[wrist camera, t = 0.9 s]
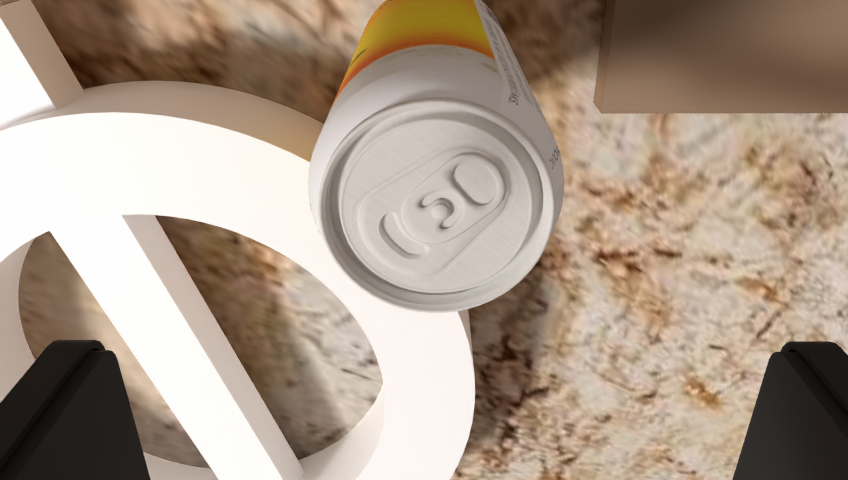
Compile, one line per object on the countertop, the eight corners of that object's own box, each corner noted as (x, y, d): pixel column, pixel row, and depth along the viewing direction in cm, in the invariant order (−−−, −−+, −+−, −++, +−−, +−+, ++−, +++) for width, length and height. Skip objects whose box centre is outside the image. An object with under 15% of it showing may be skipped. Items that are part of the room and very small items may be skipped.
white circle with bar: (344, 561, 45) (335, 632, 40) (-94, 420, 39) (-158, 486, 34) (571, 237, 32) (592, 290, 28) (-17, -41, 26) (-101, -26, 22)
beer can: (331, 49, 28) (242, 203, 15) (441, -54, 26) (454, 16, 13) (425, 151, 30) (422, 366, 17) (534, 63, 28) (626, 228, 15)
